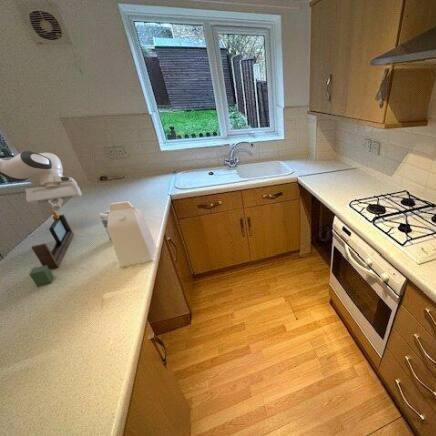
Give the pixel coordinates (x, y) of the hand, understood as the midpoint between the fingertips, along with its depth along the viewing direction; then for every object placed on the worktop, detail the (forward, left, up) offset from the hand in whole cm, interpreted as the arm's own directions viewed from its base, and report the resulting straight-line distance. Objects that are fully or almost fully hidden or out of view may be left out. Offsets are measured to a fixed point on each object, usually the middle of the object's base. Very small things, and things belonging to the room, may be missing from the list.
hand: (56, 207), depth 118 cm
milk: (+51, -8, -15) cm, 54 cm away
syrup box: (+29, +2, -15) cm, 33 cm away
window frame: (+12, -13, -15) cm, 23 cm away
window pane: (+7, -7, -12) cm, 16 cm away
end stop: (+29, -30, -15) cm, 44 cm away
